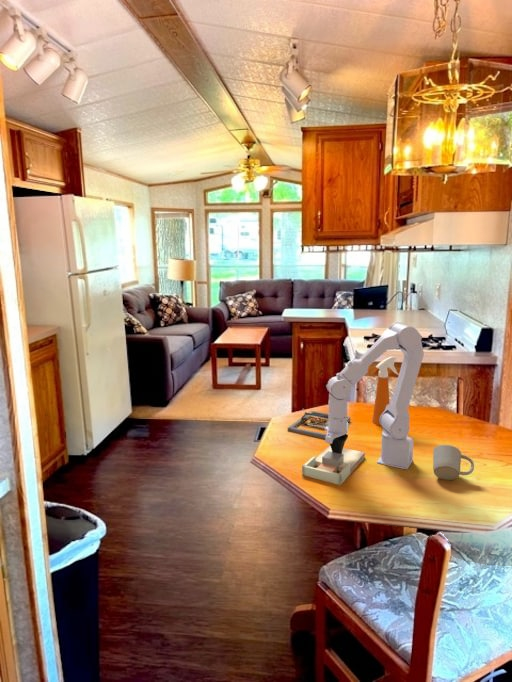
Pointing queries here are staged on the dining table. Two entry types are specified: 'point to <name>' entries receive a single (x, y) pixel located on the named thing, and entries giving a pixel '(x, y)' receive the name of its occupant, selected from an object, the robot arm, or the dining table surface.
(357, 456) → the board
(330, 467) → the tile terracotta
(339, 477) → the tray
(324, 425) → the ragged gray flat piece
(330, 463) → the tile slate
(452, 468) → the ceramic mug
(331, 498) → the dining table surface
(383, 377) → the spray bottle
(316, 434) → the gray open frame
